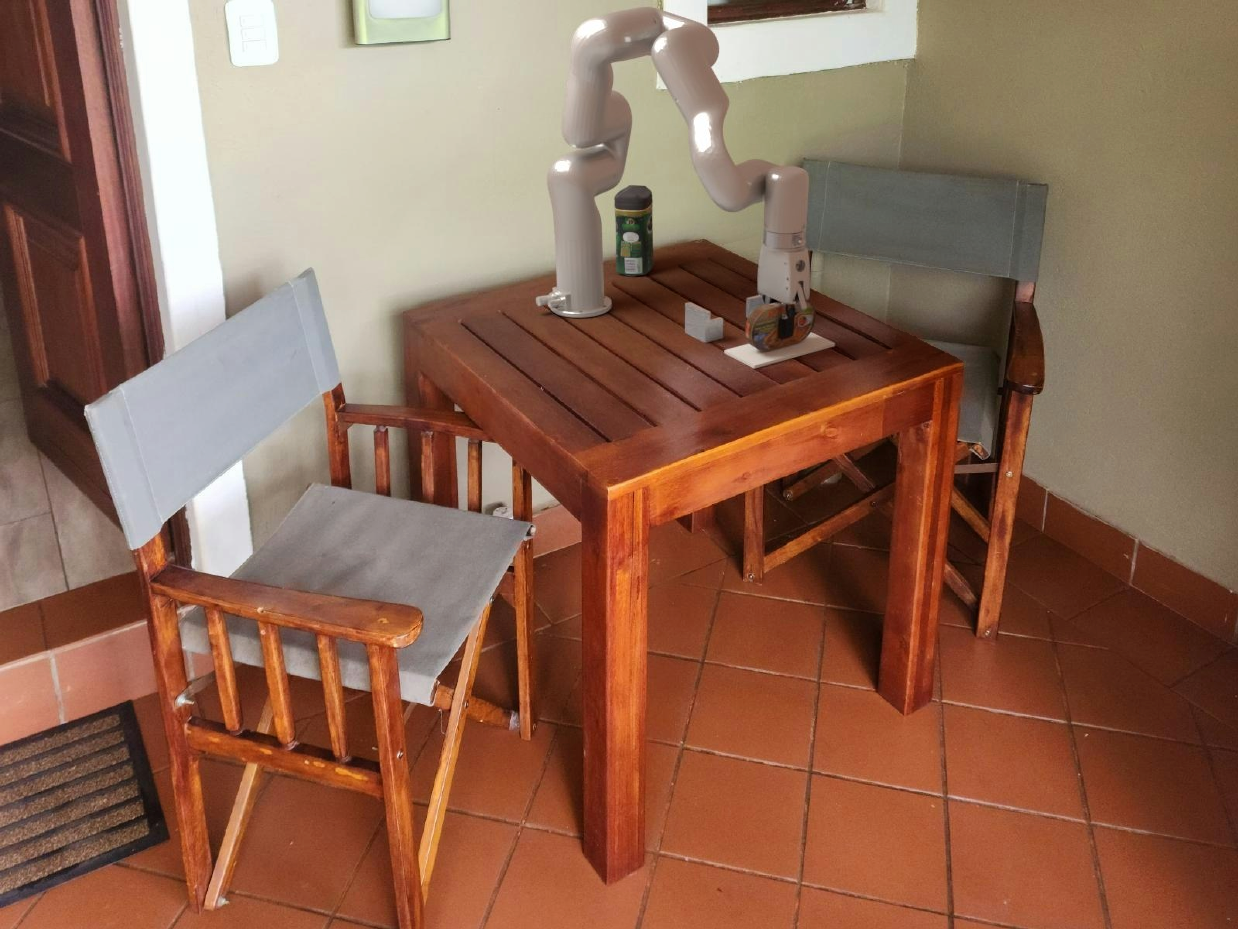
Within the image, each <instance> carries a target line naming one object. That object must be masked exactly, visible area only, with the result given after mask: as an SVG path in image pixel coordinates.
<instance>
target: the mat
mask: <svg viewBox="0 0 1238 929" xmlns="http://www.w3.org/2000/svg"><path fill="white" fill-rule="evenodd" d="M833 347H836V343H835V342H833V341H832V340H829V339H827V338H824V337H822V336H820V335H818V334H816V333H814V332H813V331H811V333H810V334H809V335H808V337H807V338H806V339H804V340H803V341H801V342H799V343H796V344H792V345H789V346H785V347H781V348H778V349H774V350H771V351H767V352H763V351H759V350H758V349H756V348H755V347H753V346H751V345H750V344H749V343H746V344H742V345H739V346H738V345H737V346H735V347H731V348H727V349H725V350H723V351H724V352H723V353H724V354H725V355H727V356H728V357H731V358H733V359H735V360H736V361H738V362H740V363H742V364H744V365H747V366H748V367H750V368H752V369H758V368H762V367H765V366H769V365H772V364H776V363H780V362H783V361H788V360H790V359H793V358H797V357H800V356H805V355H807V354H812V353H815V352H819V351H822V350H826V349H828V348H833Z"/></svg>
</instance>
